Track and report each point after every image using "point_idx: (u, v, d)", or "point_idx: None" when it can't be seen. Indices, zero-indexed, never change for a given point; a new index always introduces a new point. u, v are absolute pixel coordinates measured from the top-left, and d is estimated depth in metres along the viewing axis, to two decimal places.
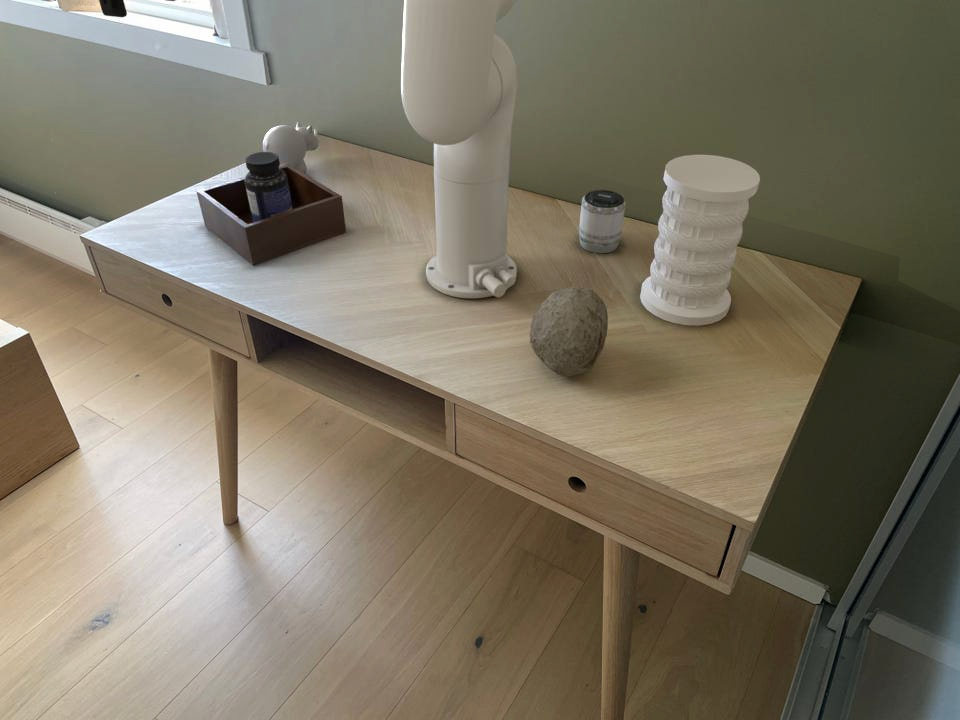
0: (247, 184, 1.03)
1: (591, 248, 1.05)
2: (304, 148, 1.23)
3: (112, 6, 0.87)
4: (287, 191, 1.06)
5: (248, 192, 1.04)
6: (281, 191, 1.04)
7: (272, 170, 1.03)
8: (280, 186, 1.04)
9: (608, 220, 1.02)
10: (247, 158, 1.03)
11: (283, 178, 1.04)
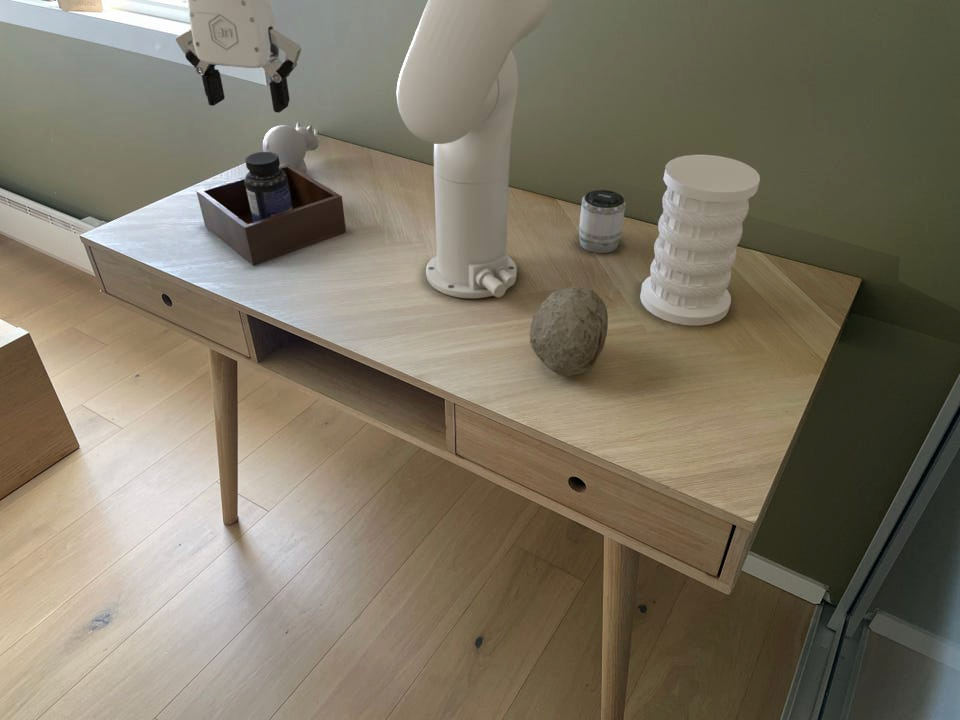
0: (247, 184, 1.03)
1: (591, 248, 1.05)
2: (304, 148, 1.23)
3: (206, 94, 0.98)
4: (287, 191, 1.06)
5: (248, 192, 1.04)
6: (281, 191, 1.04)
7: (272, 170, 1.03)
8: (280, 186, 1.04)
9: (608, 220, 1.02)
10: (247, 158, 1.03)
11: (283, 178, 1.04)
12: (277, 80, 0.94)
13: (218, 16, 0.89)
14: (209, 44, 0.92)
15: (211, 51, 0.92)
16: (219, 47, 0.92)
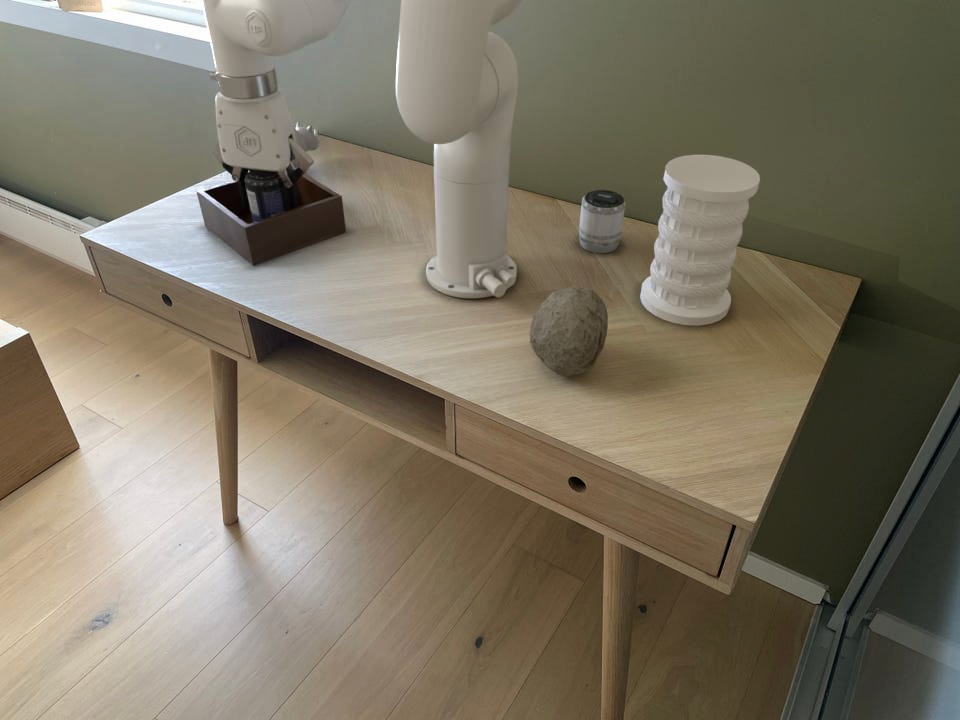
0: (247, 184, 1.03)
1: (591, 248, 1.05)
2: (304, 148, 1.23)
3: (240, 196, 1.07)
4: None
5: (248, 192, 1.04)
6: (281, 191, 1.04)
7: None
8: (280, 186, 1.04)
9: (608, 220, 1.02)
10: None
11: None
12: (288, 185, 1.03)
13: (243, 128, 0.98)
14: (234, 151, 1.00)
15: (236, 156, 1.01)
16: (244, 153, 1.00)
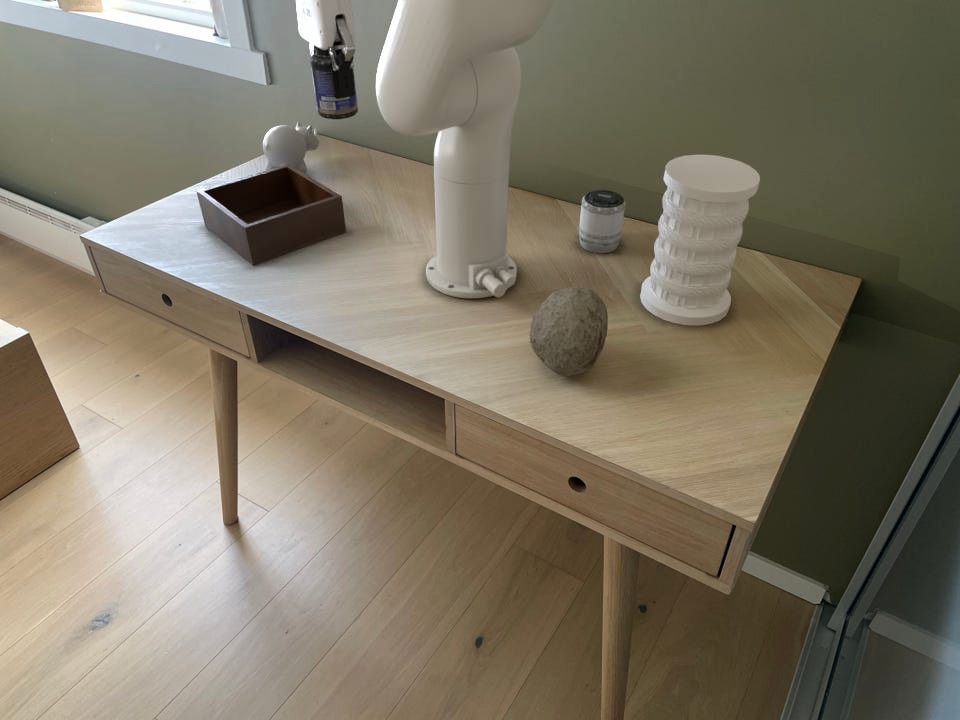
0: None
1: (591, 248, 1.05)
2: (304, 148, 1.23)
3: None
4: None
5: None
6: None
7: None
8: (332, 68, 1.02)
9: (608, 220, 1.02)
10: None
11: None
12: (335, 69, 1.01)
13: None
14: (302, 21, 1.02)
15: (303, 28, 1.02)
16: (305, 25, 1.01)
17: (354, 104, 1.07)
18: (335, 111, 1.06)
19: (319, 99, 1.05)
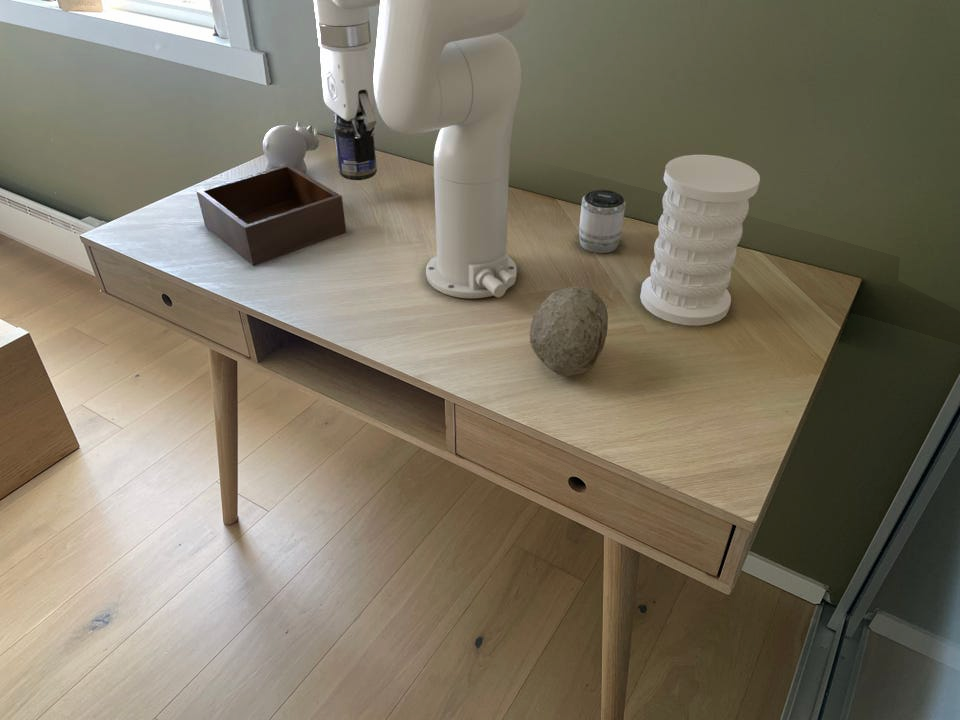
0: None
1: (591, 248, 1.05)
2: (304, 148, 1.23)
3: None
4: None
5: None
6: None
7: None
8: (354, 136, 1.10)
9: (608, 220, 1.02)
10: None
11: None
12: (356, 137, 1.09)
13: (329, 72, 1.06)
14: (327, 92, 1.10)
15: (327, 98, 1.10)
16: (330, 97, 1.09)
17: (374, 166, 1.15)
18: (356, 174, 1.14)
19: (341, 162, 1.14)
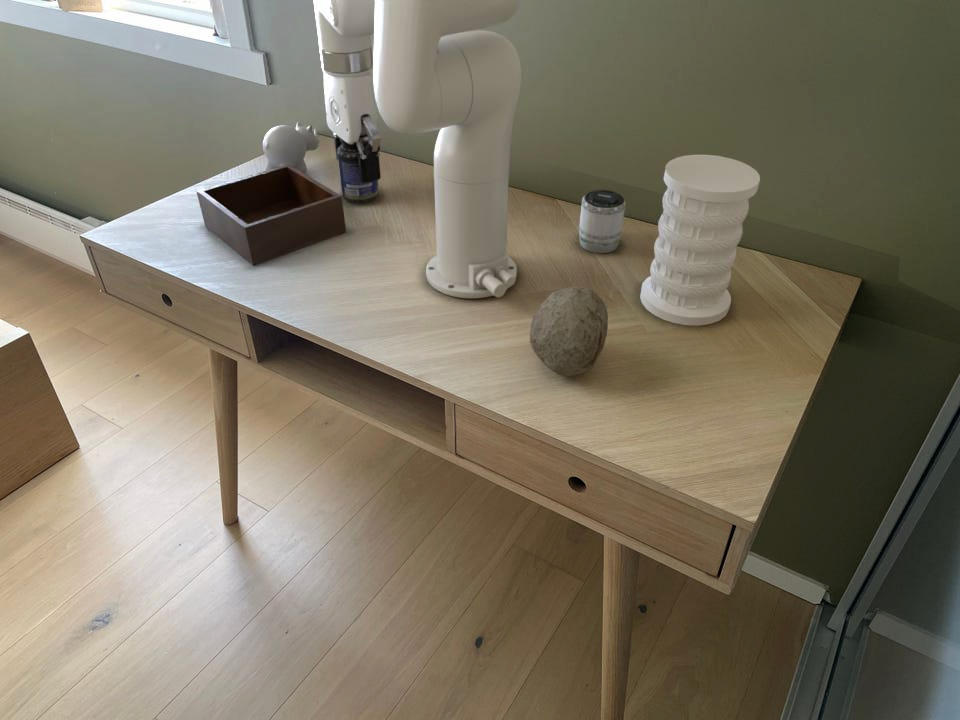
0: None
1: (591, 248, 1.05)
2: (304, 148, 1.23)
3: None
4: None
5: None
6: (357, 166, 1.13)
7: (353, 145, 1.12)
8: (356, 161, 1.13)
9: (608, 220, 1.02)
10: None
11: None
12: (362, 157, 1.10)
13: (332, 97, 1.08)
14: (330, 116, 1.12)
15: (331, 122, 1.12)
16: (333, 120, 1.11)
17: (376, 190, 1.18)
18: (358, 197, 1.16)
19: (344, 186, 1.16)
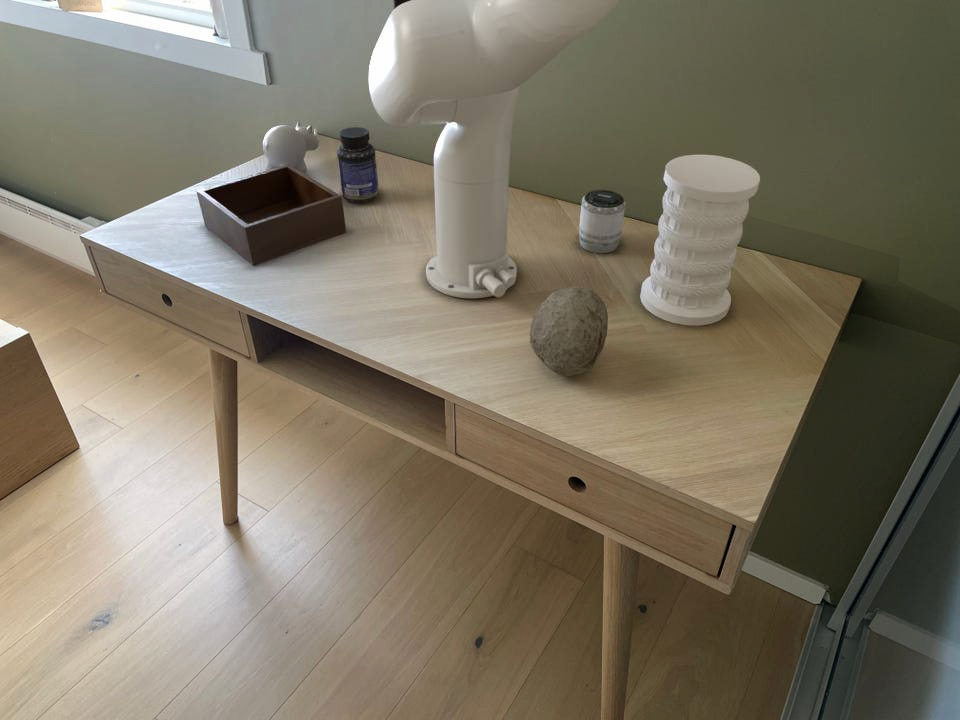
0: None
1: (591, 248, 1.05)
2: (304, 148, 1.23)
3: None
4: (366, 168, 1.14)
5: None
6: (357, 166, 1.13)
7: (353, 145, 1.12)
8: (356, 161, 1.13)
9: (608, 220, 1.02)
10: (344, 129, 1.14)
11: (363, 156, 1.13)
12: None
13: None
14: None
15: None
16: None
17: (376, 190, 1.18)
18: (358, 197, 1.16)
19: (344, 186, 1.16)
